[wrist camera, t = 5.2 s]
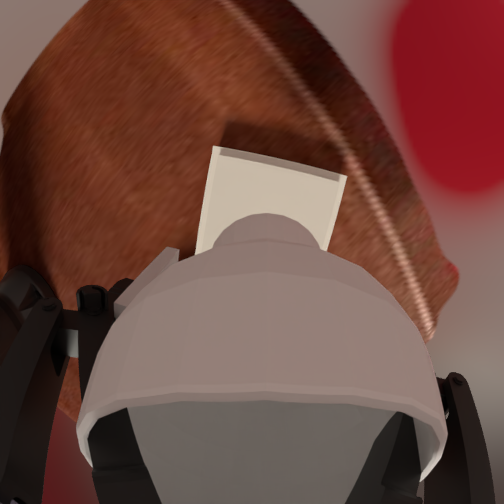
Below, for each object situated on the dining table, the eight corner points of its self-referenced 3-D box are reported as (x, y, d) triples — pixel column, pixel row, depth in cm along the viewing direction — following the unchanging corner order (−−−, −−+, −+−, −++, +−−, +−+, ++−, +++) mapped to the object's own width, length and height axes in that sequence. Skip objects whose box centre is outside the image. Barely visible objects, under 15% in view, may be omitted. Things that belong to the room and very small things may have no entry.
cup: (235, 158, 17) (86, 192, 3) (373, 243, 18) (518, 412, 4) (165, 292, 20) (59, 470, 6) (288, 354, 21) (299, 540, 7)
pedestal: (199, 260, 35) (191, 273, 31) (218, 146, 30) (211, 145, 27) (308, 283, 35) (313, 298, 32) (339, 173, 31) (349, 176, 27)
